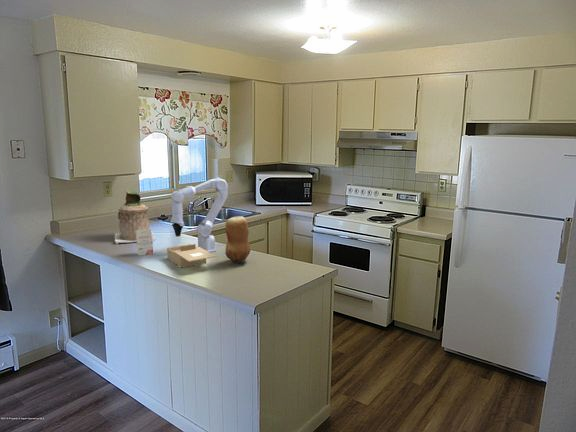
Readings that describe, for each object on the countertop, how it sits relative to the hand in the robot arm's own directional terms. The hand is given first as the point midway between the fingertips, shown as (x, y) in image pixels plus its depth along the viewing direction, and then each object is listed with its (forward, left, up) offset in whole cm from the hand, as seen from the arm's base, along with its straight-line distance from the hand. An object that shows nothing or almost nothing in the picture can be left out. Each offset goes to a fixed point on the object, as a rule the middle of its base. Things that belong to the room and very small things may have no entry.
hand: (178, 236), depth 242 cm
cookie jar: (+10, -50, -11) cm, 52 cm away
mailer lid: (+2, +26, -4) cm, 27 cm away
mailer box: (+2, +15, -10) cm, 18 cm away
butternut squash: (-20, +33, -11) cm, 40 cm away
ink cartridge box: (+16, -11, -11) cm, 22 cm away
